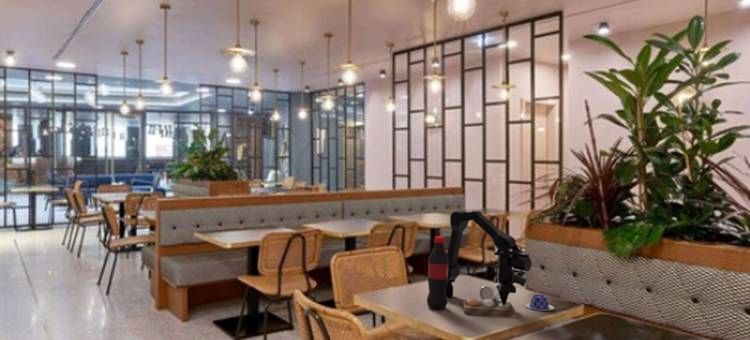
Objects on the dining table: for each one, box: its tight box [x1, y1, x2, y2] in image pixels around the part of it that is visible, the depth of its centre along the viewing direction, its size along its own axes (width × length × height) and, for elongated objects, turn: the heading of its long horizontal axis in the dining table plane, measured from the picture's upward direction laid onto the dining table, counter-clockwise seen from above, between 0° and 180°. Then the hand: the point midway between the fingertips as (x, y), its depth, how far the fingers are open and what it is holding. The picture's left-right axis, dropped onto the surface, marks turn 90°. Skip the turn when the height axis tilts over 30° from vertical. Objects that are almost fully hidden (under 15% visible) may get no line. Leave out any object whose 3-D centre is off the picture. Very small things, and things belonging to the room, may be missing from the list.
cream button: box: [482, 299, 495, 307], centre depth 220 cm, size 4×4×3 cm
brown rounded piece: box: [466, 298, 479, 306], centre depth 221 cm, size 4×4×3 cm
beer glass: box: [478, 284, 501, 301], centre depth 232 cm, size 7×7×15 cm
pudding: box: [524, 294, 555, 312], centre depth 228 cm, size 12×12×5 cm
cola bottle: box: [426, 235, 449, 311], centre depth 222 cm, size 8×8×30 cm
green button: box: [498, 303, 510, 308], centre depth 220 cm, size 4×4×3 cm
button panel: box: [461, 299, 516, 318], centre depth 221 cm, size 20×12×2 cm, turn 85°
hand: (503, 304), depth 220 cm, fingers closed, pressing on green button
